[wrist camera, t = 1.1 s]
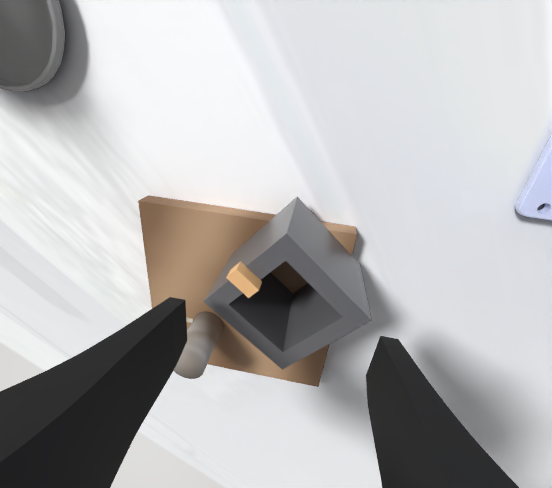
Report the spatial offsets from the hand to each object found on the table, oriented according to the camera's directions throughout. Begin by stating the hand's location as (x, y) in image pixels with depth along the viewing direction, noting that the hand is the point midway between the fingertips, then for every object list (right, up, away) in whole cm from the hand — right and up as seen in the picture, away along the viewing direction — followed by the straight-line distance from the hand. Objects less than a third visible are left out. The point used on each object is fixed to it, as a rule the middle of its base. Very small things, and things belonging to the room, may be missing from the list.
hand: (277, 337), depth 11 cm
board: (-2, 0, +8) cm, 9 cm away
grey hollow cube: (+1, +3, +5) cm, 6 cm away
